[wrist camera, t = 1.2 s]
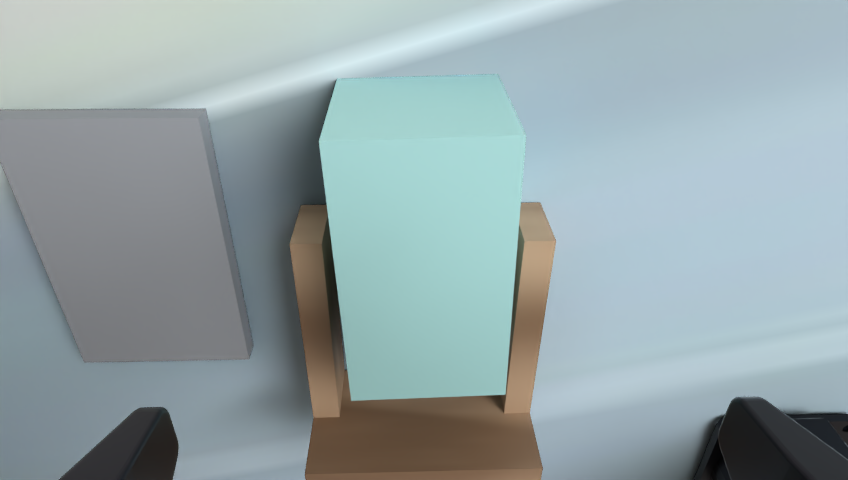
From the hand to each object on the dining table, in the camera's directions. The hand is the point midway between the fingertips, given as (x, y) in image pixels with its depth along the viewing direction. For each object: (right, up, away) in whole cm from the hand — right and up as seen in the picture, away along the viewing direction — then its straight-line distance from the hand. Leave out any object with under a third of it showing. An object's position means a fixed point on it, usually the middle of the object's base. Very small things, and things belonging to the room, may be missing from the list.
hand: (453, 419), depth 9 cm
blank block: (-1, +4, +11) cm, 12 cm away
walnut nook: (-1, +1, +13) cm, 13 cm away
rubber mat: (-11, +3, +12) cm, 16 cm away
